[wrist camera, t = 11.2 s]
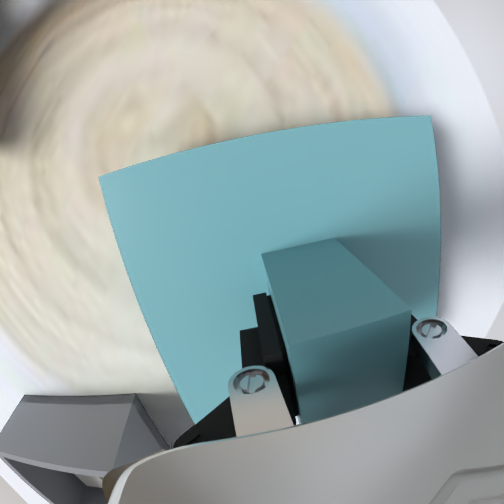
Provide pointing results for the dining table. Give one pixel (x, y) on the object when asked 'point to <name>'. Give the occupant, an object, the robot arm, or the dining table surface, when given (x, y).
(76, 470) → the tub
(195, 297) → the lid
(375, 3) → the dining table surface
